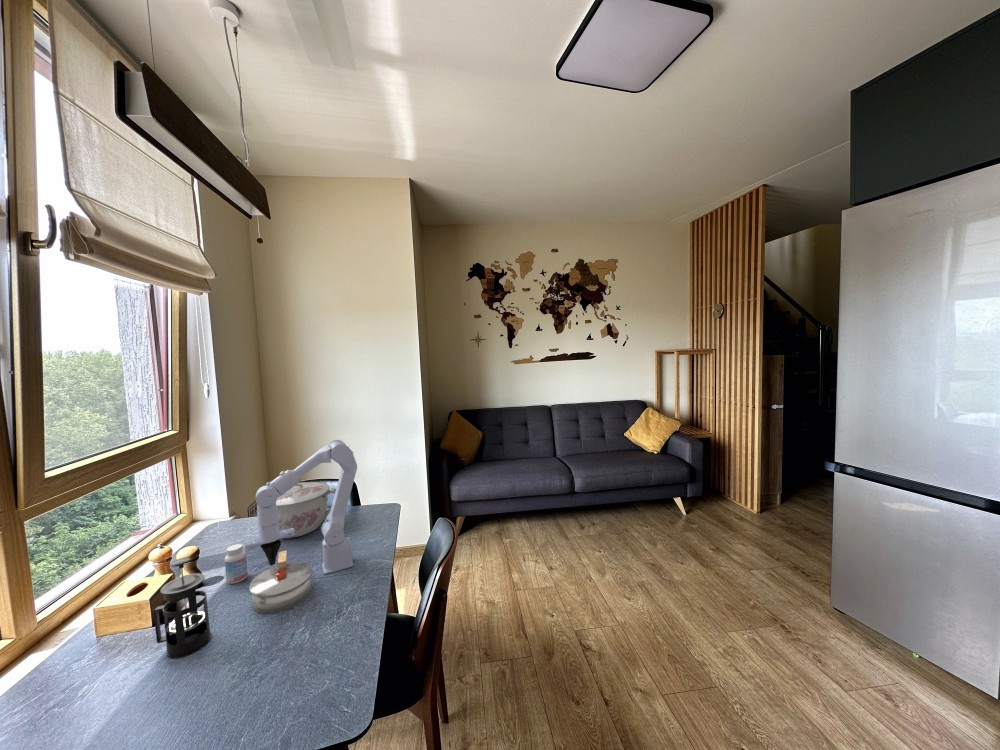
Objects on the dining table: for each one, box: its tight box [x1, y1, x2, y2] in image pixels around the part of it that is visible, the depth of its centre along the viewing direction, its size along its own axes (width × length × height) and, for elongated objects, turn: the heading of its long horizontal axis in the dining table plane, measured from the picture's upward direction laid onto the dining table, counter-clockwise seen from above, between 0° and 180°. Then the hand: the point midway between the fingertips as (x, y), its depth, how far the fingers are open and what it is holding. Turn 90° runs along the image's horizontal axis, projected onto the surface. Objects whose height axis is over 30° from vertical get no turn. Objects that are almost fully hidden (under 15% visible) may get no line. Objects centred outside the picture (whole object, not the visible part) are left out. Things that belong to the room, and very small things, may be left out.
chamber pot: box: [276, 481, 336, 539], centre depth 168 cm, size 28×28×21 cm
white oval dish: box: [251, 576, 313, 615], centre depth 125 cm, size 16×22×5 cm
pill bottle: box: [224, 543, 249, 585], centre depth 133 cm, size 6×6×11 cm
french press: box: [153, 557, 212, 659], centre depth 102 cm, size 12×9×23 cm
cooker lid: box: [248, 550, 313, 597], centre depth 124 cm, size 22×17×3 cm
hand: (272, 563), depth 128 cm, fingers closed
